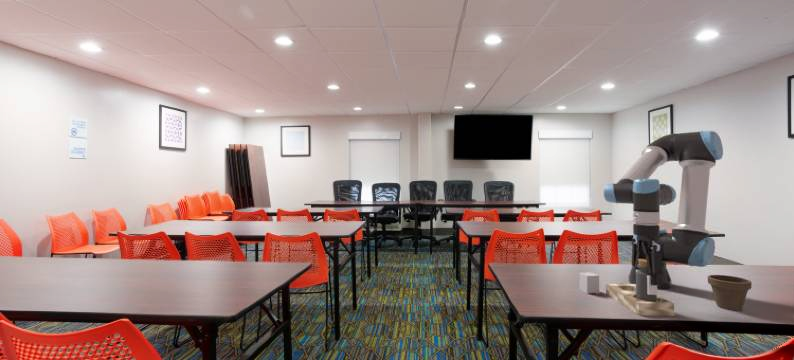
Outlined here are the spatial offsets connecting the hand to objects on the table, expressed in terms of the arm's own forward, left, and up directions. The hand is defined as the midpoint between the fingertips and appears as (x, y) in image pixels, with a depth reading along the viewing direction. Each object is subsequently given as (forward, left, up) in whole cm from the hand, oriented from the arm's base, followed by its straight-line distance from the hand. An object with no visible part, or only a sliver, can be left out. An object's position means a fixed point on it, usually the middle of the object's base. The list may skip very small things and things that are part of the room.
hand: (646, 291), depth 127 cm
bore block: (0, -6, -6) cm, 8 cm away
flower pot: (-30, -4, -7) cm, 31 cm away
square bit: (+10, -20, -6) cm, 23 cm away
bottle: (0, 0, -5) cm, 5 cm away
